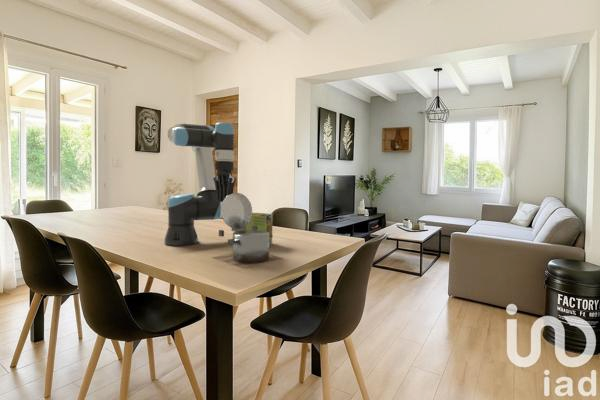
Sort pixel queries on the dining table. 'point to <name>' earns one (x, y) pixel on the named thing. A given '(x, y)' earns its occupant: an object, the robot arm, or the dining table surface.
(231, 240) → the pot
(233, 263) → the board
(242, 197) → the lid
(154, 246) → the dining table surface
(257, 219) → the protein box
